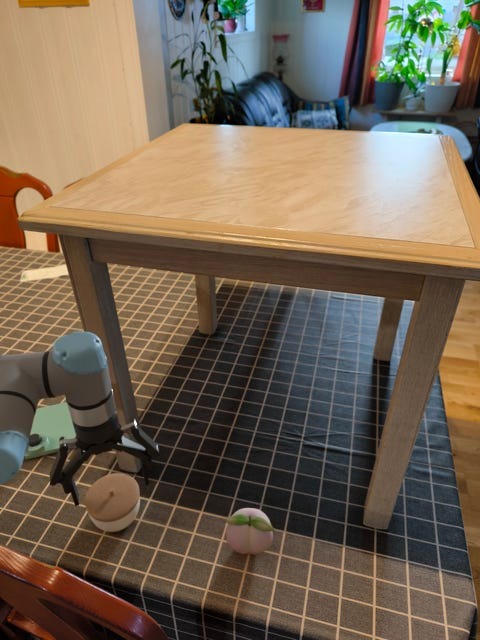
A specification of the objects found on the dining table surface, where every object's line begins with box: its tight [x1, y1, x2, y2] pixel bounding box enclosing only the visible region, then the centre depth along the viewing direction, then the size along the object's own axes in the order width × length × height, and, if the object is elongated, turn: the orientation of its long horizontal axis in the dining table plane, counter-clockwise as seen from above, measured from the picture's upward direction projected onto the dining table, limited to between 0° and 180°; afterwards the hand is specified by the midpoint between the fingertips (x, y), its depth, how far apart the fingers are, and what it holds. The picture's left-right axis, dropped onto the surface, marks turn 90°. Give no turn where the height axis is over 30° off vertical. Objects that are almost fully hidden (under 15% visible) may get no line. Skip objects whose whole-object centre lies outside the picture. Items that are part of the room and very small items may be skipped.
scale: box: [24, 401, 77, 460], centre depth 113 cm, size 18×16×4 cm
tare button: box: [29, 434, 41, 447], centre depth 106 cm, size 3×3×2 cm
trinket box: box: [84, 472, 141, 533], centre depth 91 cm, size 11×11×9 cm
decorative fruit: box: [224, 507, 275, 556], centre depth 86 cm, size 9×8×10 cm
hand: (112, 489), depth 89 cm, fingers open, 13 cm apart
